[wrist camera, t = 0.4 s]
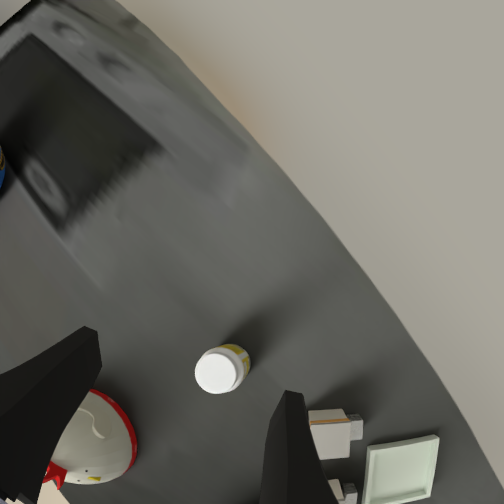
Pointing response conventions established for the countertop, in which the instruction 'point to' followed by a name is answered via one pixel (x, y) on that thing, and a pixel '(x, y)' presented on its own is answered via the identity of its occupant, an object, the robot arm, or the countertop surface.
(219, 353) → the supplement bottle
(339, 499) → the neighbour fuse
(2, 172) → the ceramic pot
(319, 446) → the white box with band
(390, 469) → the tray
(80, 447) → the kitchen timer
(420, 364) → the countertop surface
